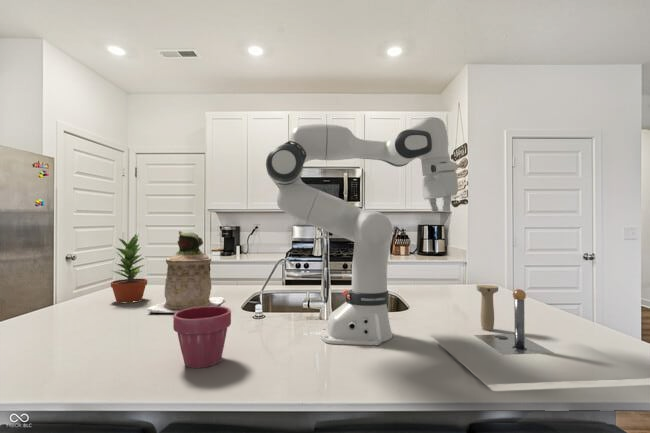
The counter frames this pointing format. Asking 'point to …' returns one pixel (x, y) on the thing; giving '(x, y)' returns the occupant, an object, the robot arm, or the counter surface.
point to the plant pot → (202, 334)
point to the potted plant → (129, 274)
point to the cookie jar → (187, 278)
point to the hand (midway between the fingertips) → (440, 212)
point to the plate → (511, 344)
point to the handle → (487, 306)
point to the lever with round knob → (519, 318)
